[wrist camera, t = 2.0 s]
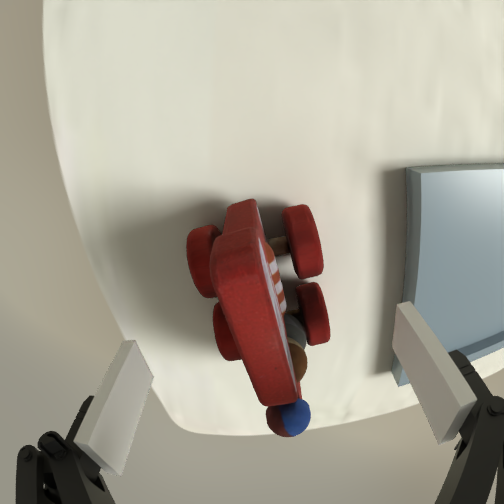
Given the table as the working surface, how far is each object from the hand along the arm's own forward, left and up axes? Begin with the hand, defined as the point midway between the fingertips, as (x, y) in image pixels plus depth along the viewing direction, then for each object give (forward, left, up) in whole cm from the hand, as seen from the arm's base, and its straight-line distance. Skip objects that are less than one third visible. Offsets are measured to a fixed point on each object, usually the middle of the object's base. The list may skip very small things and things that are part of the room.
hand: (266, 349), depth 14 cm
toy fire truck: (0, 0, -7) cm, 7 cm away
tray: (+3, +19, -7) cm, 20 cm away
